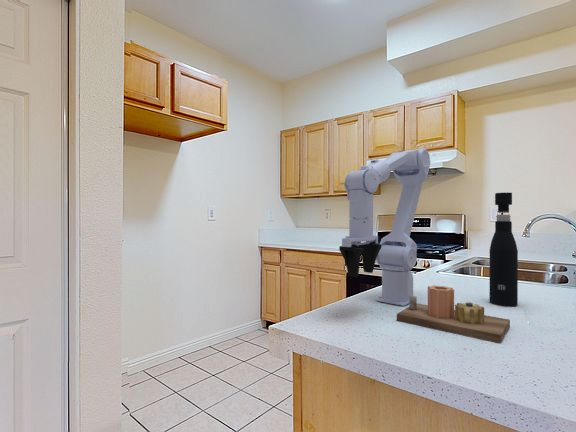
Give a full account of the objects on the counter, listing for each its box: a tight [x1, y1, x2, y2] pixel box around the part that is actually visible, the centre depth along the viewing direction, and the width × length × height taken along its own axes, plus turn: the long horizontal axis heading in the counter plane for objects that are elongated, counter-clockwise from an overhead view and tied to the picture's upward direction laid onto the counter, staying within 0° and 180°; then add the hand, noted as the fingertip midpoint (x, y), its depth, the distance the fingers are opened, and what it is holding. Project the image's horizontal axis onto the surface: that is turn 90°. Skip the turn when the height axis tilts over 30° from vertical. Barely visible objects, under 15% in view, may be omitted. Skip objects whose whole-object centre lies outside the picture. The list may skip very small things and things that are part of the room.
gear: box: [427, 284, 455, 318], centre depth 74 cm, size 5×5×6 cm
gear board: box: [396, 295, 511, 344], centre depth 72 cm, size 12×20×5 cm, turn 49°
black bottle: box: [488, 192, 519, 308], centre depth 88 cm, size 6×6×30 cm
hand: (361, 274), depth 80 cm, fingers open, 7 cm apart
